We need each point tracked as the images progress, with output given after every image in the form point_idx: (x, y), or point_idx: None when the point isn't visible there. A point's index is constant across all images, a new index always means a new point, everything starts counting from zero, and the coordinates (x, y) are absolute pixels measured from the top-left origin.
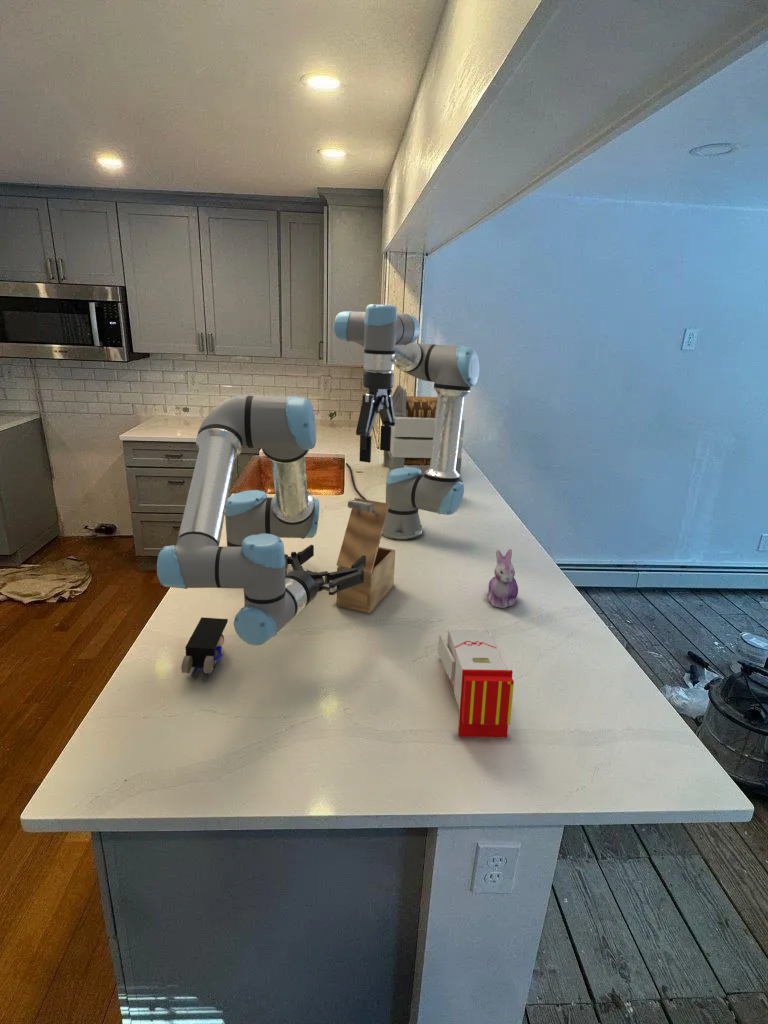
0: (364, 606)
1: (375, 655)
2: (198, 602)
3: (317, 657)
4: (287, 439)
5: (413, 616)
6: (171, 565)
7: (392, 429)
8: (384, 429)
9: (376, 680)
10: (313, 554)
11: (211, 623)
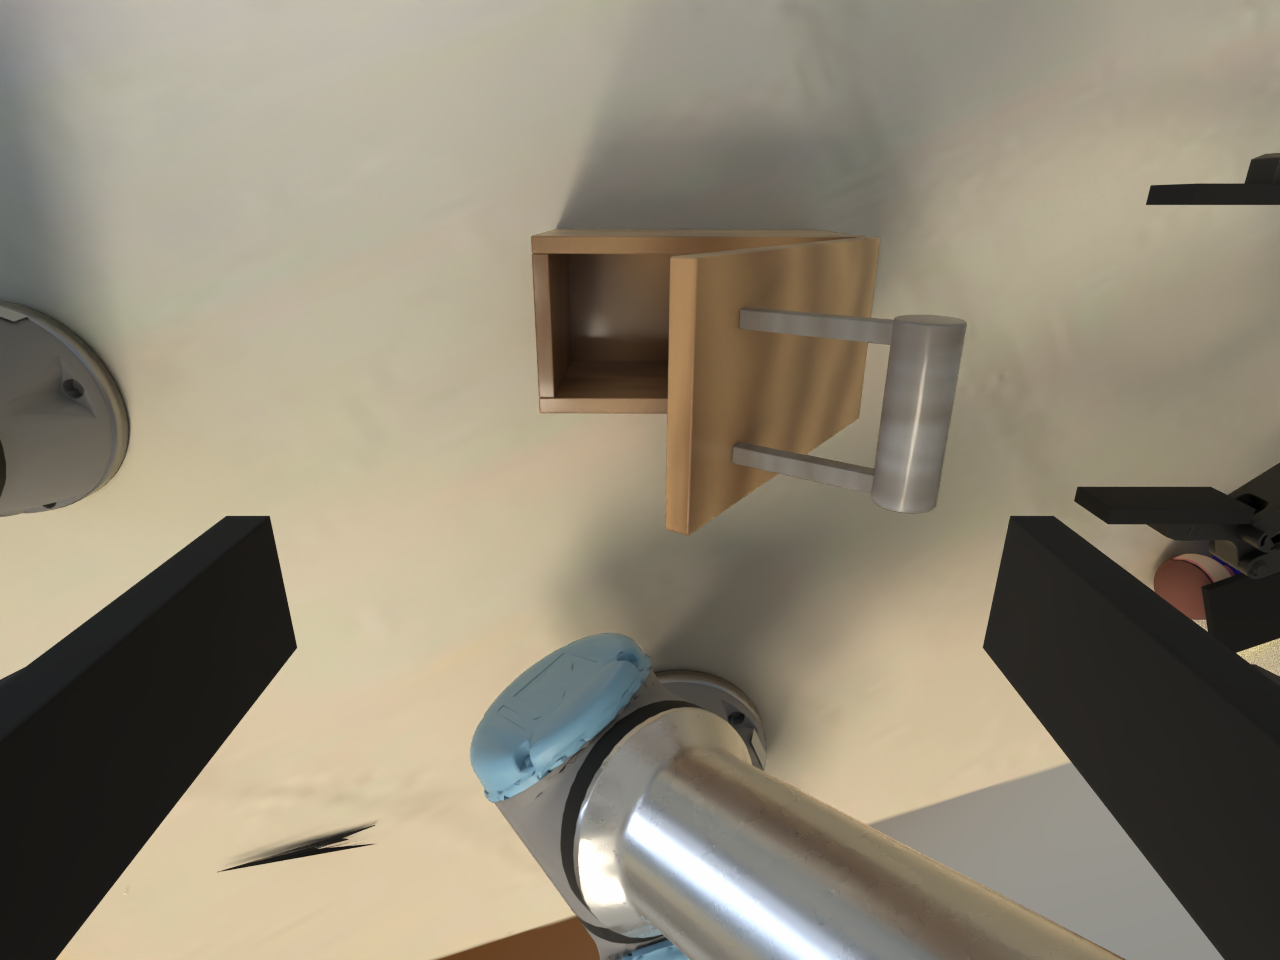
0: None
1: (1096, 86)
2: (932, 739)
3: (1148, 277)
4: None
5: (773, 43)
6: None
7: None
8: (40, 873)
9: (1250, 16)
10: (1082, 489)
11: (1242, 616)
